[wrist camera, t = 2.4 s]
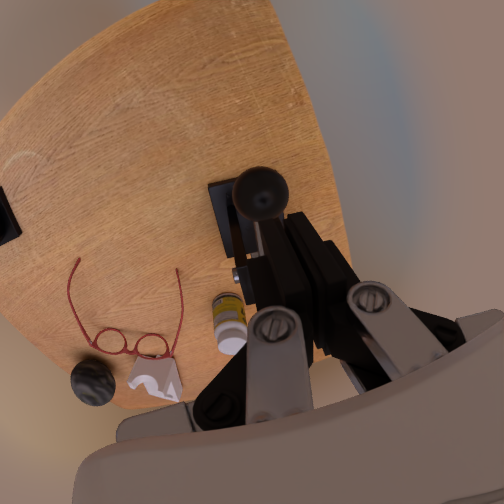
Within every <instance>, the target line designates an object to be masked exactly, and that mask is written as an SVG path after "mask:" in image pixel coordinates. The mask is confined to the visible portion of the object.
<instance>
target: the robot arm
mask: <svg viewBox="0 0 504 504" xmlns="http://www.w3.org/2000/svg"><path fill="white" fill-rule="evenodd" d="M258 225H259V231H260V236H261V241H262V247H263V252H264V255H263V256H259V257H255V258H250V259H246V262H247V267H248V271H249V276H250V280H251V285H252V289H253V294H254V298H255V303H256V307H257V313H255V314H254V315H253V316H252V318H251V319H250V321H249V323H248V327H247V342H246V343H245V344H244V345H243V347H242V348H241V349H240V350H239V351H238V352H237V353H236V355H235V356H234V357H233V358H232V359H231V360H230V361H229V362H228V364H227V365H226V366H225V367H224V368H223V369H222V370H221V371H220V372H219V374H218V375H217V376H216V377H215V378H214V379H213V380H212V381H211V382H210V383H209V384H208V386H207V387H206V388H205V389H204V390H203V391H202V392H201V393H200V394H199V395H198V397H197V398H196V400H195V401H192V402H189V403H185V402H184V401H183V402H180V403H177V404H174V405H170V406H167V407H164V408H160V409H157V410H154V411H150V412H147V413H143V414H139V415H136V416H132V417H129V418H127V419H124V420H123V421H122V422H121V423H120V424H119V426H118V428H117V431H116V442H117V443H114V444H111V445H108V446H106V447H104V448H101V449H99V450H97V451H95V452H94V453H92V454H90V455H89V456H88V457H87V458H85V459H84V461H83V462H82V463H81V465H80V467H79V468H78V471H77V474H76V478H75V482H74V488H73V497H72V504H504V313H503V312H502V311H500V310H497V309H491V310H488V311H484V312H481V313H477V314H473V315H469V316H465V317H460V318H456V320H455V322H453V321H452V320H449V319H447V318H444V317H440V316H437V315H433V314H430V313H427V312H423V311H420V310H417V309H413V308H410V307H407V306H406V304H404V302H403V301H402V300H401V299H400V298H399V297H398V296H397V295H396V294H395V293H394V292H393V291H392V290H391V289H390V288H389V287H387V286H386V285H384V284H382V283H380V282H376V281H363V282H360V280H359V279H358V277H357V276H356V274H355V273H354V271H353V270H352V268H351V267H350V265H349V264H348V262H347V261H346V260H345V258H344V257H343V255H342V254H341V252H340V251H339V250H338V248H337V247H336V245H335V244H334V243H333V241H332V240H327V241H323V240H322V239H321V238H320V236H319V235H318V233H317V232H316V230H315V229H314V227H313V226H312V224H311V223H310V221H309V220H308V219H307V217H306V216H305V214H304V213H303V212H297V213H292V214H288V215H287V219H283V226H284V229H283V227H282V225H281V223H280V221H279V220H278V221H274V219H273V218H269V219H265V220H260V221H258ZM313 340H314V342H315V345H316V347H317V349H320V348H322V349H323V351H324V354H325V356H327V355H330V354H331V355H332V357H335V358H338V359H340V363H341V365H342V367H343V369H344V370H345V372H346V374H347V375H348V377H349V378H350V380H351V382H352V383H353V385H354V386H355V388H356V390H357V391H358V393H359V395H357V396H354V397H351V398H348V399H346V400H343V401H340V402H337V403H334V404H331V405H327V406H324V407H321V408H317V409H314V407H313V399H312V391H311V384H310V376H309V368H310V366H311V365H312V363H313Z"/></svg>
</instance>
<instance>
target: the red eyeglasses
mask: <svg viewBox="0 0 504 504" xmlns="http://www.w3.org/2000/svg"><path fill="white" fill-rule="evenodd" d="M79 263H80V258H79V259H78V260H77V262H76V264H75V266H74V268H73V270H72V272H71V274H70V277H69V280H68V285H67V295H68V300H69V303H70V306H71V308H72V311H73V313H74V315H75V318H76V320H77V322H78V324H79V326H80V328H81V331H82V333H83V334H84V336H85V338H86V340H87V342H88V343H89V345H90V346H91V347H93V348H95V349H97V350H99V351H101V352H103V353H106V354H111V355H118V354H122V353H126V354H129V355H134V354H137V355H138V356H140V357H141V358H144V359H148V360H160V359H165V358H171V357H172V356H173V353H174V349H175V346H176V343H177V339H178V336H179V332H180V328H181V324H182V319H183V311H184V307H183V296H182V290H181V285H180V280H179V275H178V271H177V269H176V274H177V278H178V283H179V289H180V296H181V307H182V311H181V319H180V324H179V328H178V332H177V335H176V338H175V341H174V344H173V347H172V350H171V351H170V352H169V346H168V344H167V342H166V340H165V339H164V338H163V337H162V336H160V335H158V334H146V335H144V336H142V337H141V338H140V339H139V340H138V341H137V343H136V345H135V348H134V350H133V351H129V350H128V349H127V341H126V339H125V337H124V335H123V334H122V333H121V332H120V331H119V330H117V329H113V328H107V329H104V330H102V331H100V332H99V333H98V334H97V336H96V338H95V340H94V342H92V341H91V340H90V338H89V336H88V335H87V333H86V331H85V329H84V328H83V326H82V324H81V322H80V320H79V318H78V316H77V314H76V312H75V310H74V307H73V305H72V302H71V299H70V293H69V289H70V282H71V279H72V276H73V274H74V271H75V270H76V268H77V266H78V264H79ZM108 330H113V331H117V332H119V333H120V334H121V335H122V336H123V338H124V340H125V345H124V347H123V349H122V350H121V351H119V352H116V353H111V352H106V351H104V350H101V349H100V348H99V347H98V345H97V339H98V337H99V335H100V334H101V333H103V332H105V331H108ZM146 336H158V337H160V338H161V339H163V340H164V342H165V343H166V347H167V350H166V352H165V354H164V355H163V356H161V357H158V358H148V357H144V356H142V355H141V354H140V353H139V352H138V350H137V346H138V343H139V342H140V340H141V339H143V338H144V337H146Z"/></svg>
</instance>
